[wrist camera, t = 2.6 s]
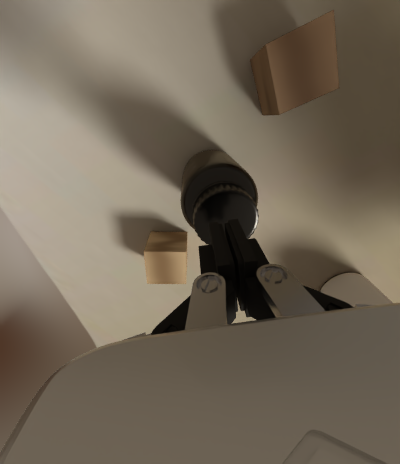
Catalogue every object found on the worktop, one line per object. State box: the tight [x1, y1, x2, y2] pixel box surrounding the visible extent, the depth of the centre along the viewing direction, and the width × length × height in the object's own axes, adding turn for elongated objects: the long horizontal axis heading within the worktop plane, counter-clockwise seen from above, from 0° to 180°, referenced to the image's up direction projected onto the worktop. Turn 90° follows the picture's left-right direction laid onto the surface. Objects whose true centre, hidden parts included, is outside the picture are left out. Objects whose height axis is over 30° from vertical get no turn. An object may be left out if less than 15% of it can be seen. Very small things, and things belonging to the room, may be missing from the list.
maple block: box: [144, 231, 187, 284], centre depth 28 cm, size 5×5×5 cm
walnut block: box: [250, 10, 339, 115], centre depth 19 cm, size 5×5×5 cm
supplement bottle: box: [181, 150, 259, 245], centre depth 20 cm, size 7×7×12 cm
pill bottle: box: [320, 273, 392, 307], centre depth 29 cm, size 8×8×15 cm
